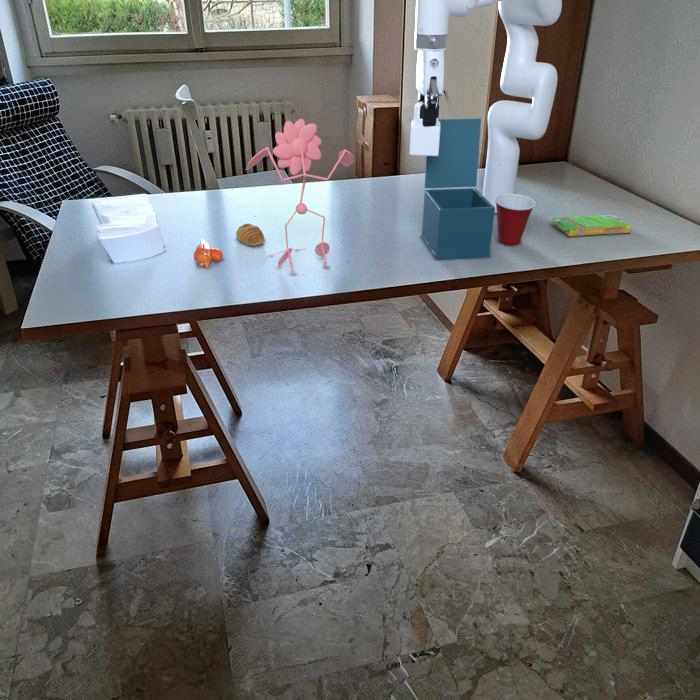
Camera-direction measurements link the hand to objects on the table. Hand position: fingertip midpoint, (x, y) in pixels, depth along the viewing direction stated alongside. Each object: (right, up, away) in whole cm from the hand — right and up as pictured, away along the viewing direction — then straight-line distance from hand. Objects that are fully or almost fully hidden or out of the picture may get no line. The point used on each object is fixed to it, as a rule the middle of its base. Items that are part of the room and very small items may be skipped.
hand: (426, 122), depth 163 cm
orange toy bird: (-54, -34, +5) cm, 65 cm away
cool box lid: (+8, -4, +12) cm, 15 cm away
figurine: (-31, -34, +6) cm, 47 cm away
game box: (+50, -22, +28) cm, 61 cm away
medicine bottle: (0, -7, +4) cm, 8 cm away
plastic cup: (+25, -27, +19) cm, 41 cm away
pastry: (-46, -26, +18) cm, 56 cm away
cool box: (+9, -28, +16) cm, 34 cm away
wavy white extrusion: (-78, -28, +15) cm, 84 cm away
